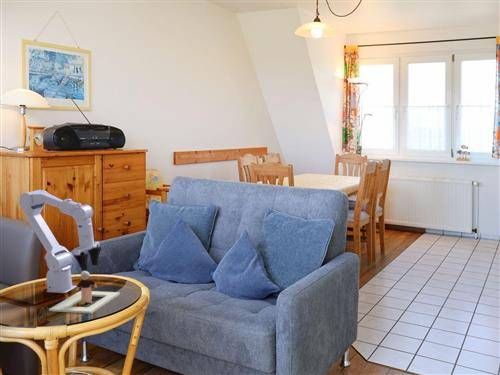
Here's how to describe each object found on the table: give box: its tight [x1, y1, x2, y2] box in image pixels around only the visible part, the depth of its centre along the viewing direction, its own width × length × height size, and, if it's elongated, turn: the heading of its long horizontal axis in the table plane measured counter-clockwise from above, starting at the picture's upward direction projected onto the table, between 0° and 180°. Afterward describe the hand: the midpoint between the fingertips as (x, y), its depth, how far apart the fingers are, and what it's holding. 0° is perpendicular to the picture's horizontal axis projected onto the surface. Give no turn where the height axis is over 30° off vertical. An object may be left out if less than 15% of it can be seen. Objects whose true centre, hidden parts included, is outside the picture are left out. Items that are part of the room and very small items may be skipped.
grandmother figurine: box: [75, 270, 98, 305], centre depth 189 cm, size 8×4×13 cm, turn 118°
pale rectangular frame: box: [48, 290, 121, 315], centre depth 191 cm, size 18×20×1 cm
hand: (89, 267), depth 201 cm, fingers open, 7 cm apart
